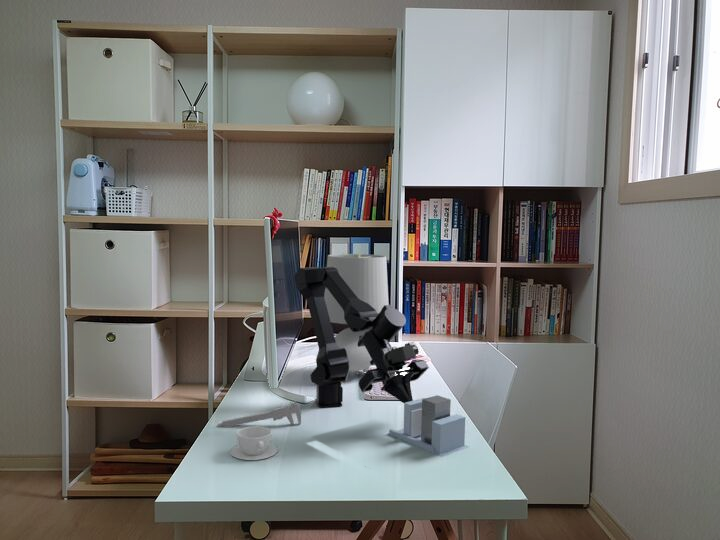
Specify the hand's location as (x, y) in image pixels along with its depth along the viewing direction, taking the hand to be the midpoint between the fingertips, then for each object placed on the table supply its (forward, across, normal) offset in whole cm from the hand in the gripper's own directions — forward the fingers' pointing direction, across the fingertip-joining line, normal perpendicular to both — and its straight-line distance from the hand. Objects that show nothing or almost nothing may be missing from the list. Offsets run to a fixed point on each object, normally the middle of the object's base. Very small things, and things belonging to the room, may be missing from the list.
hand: (411, 405), depth 138 cm
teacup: (-5, -33, +16) cm, 37 cm away
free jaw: (+6, 0, +3) cm, 7 cm away
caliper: (-15, -24, +26) cm, 38 cm away
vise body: (+10, 0, +1) cm, 10 cm away
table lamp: (-30, +24, +41) cm, 56 cm away
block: (+10, 0, -1) cm, 10 cm away
